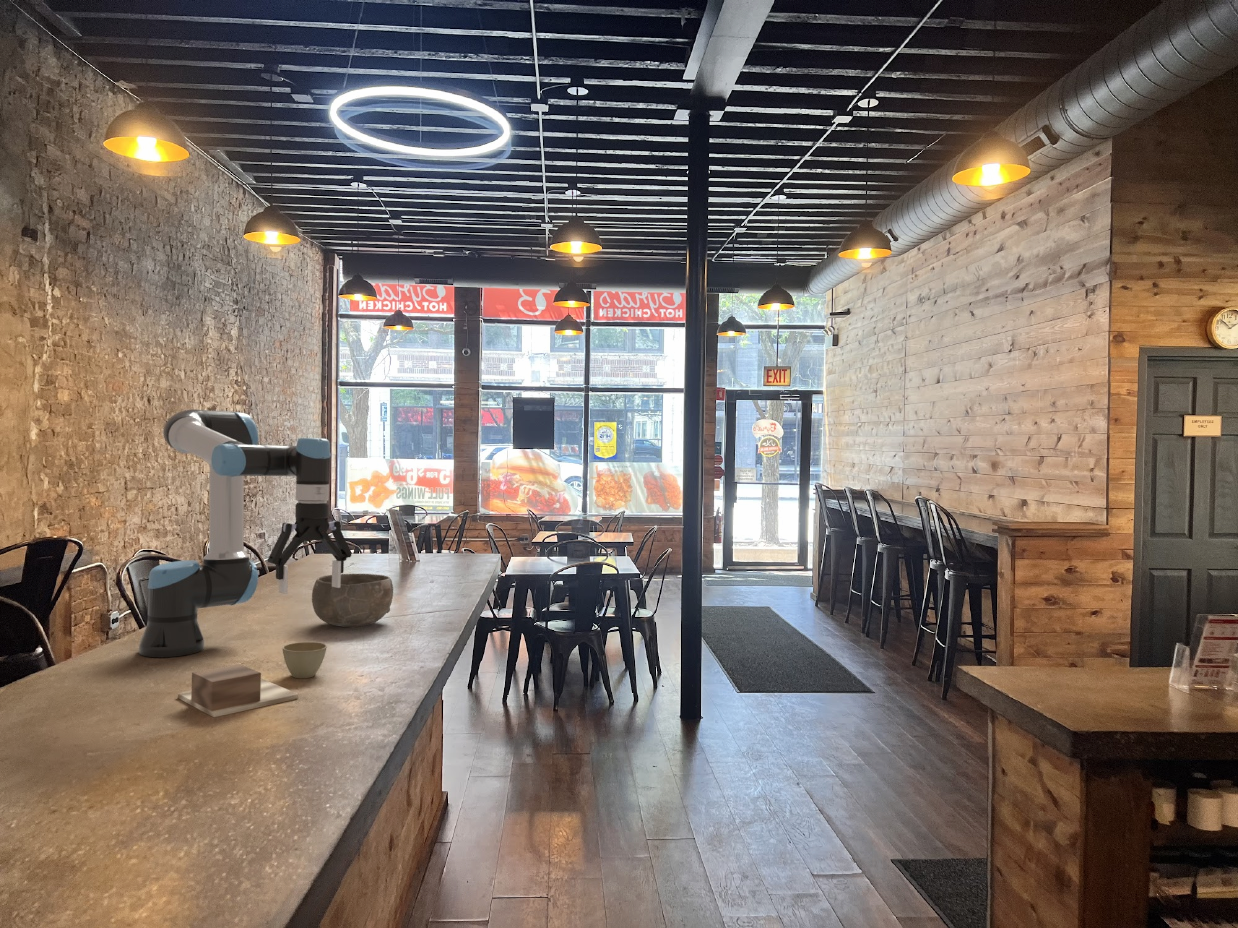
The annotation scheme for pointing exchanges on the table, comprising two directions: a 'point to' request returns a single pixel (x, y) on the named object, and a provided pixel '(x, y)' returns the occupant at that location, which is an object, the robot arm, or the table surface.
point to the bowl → (352, 599)
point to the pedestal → (225, 687)
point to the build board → (267, 697)
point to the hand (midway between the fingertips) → (310, 590)
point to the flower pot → (304, 658)
